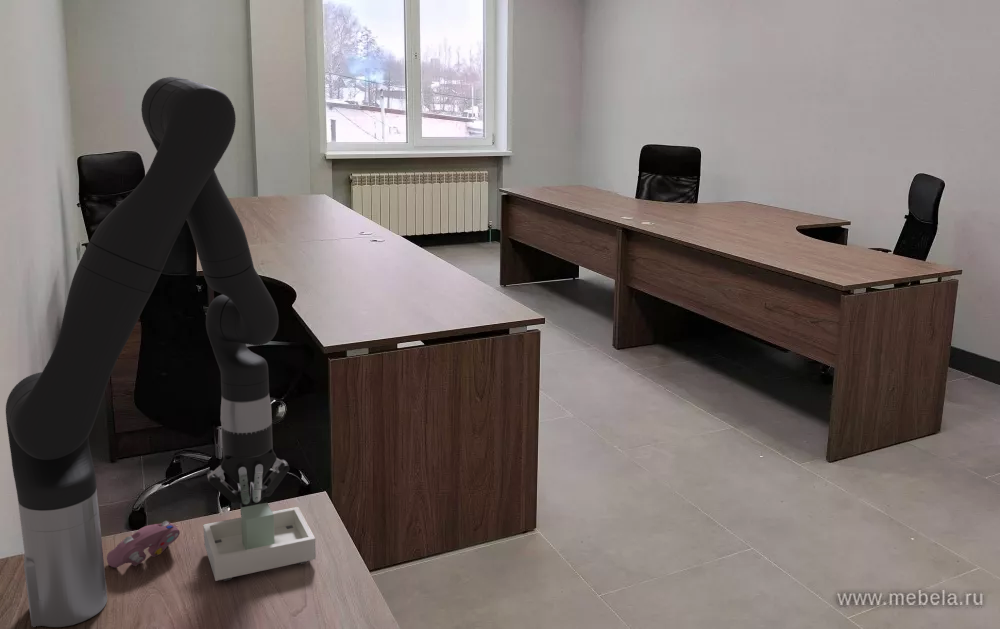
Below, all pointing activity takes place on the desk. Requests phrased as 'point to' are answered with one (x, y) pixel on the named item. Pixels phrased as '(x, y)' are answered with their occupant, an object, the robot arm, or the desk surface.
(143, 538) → the video game controller
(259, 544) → the sage block
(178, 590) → the desk surface
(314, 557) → the white planter box
